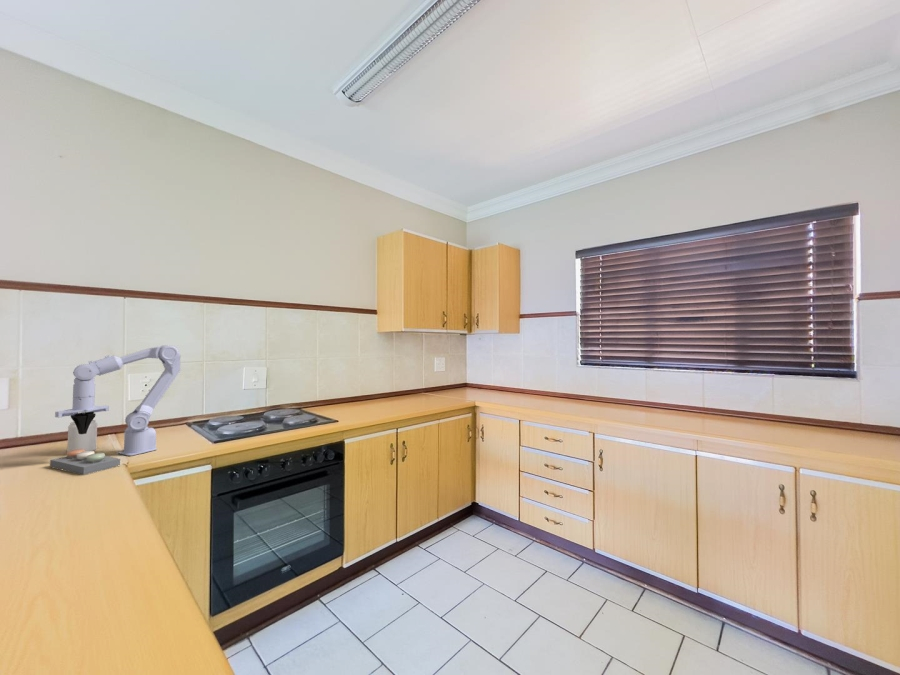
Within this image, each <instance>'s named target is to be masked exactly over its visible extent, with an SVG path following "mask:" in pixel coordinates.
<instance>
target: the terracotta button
mask: <svg viewBox="0 0 900 675" xmlns="http://www.w3.org/2000/svg"><path fill="white" fill-rule="evenodd" d="M80 452H85V449H76V450H71V451H68V452H67V451H66V456H67V457H68V458H69V459H75V458H77V453H80Z"/></svg>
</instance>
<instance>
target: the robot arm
mask: <svg viewBox="0 0 900 675" xmlns="http://www.w3.org/2000/svg"><path fill="white" fill-rule="evenodd" d="M181 356H182V355H181V353H180V351H179V349H178V348H177V347H175V346H174V345H168V344H165V345H161V346H154V347H148V348H146V349H142V350H139V351H135V352H132V353H129V354H126V355H123V356H120V357H119V356H116V355H112V356H111V355H110V354H109V355H106V356H104V358H99V359H97V360H88V363H82V364H79V365H77V366H76V367H75V368H74V370H73V372H72V375H73V376H74V379H73V383H74V384H73V385H72V407H71V409H64V410H57V411H55V414H54V417H55V418H63V417H69V416H70V419H72V422H74V423H75V424H76V427H77V429H78V433H79V434H86V433H87V430H88V427H89V425H90V423H91V421H92V420H95V419H94V418H96V416H97V415H96V413H100V412H101V413H102V412H109V411H110V405H100V406H98V405H97V406H95V398H96V397H95V396H96V384H95V377H96V376H104V375H106V374H110V373H112V372H116V371H119V370H121V369H122V367H123V366H124V365H127V364H130V363H134V362H138V361H142V360H145V359H148V358H149V359H159V361H160V362H161V363H162V366H163V368H164V370H163V372H162V373H161V374H160V376H159V377H158V379H157V380H156V381H155V382H154V384H153V386H152V387H151V388H150V390H149V391H148V393H147V394H146V395H145V397H144V398H143V399H142V401H141V402H140V404H138V405H137V407H135V409H134V410H132V412H130V413H129V414H127V415H126V417H125V419H124V420H125V421H124V422H125V424H126V425H127V427H126V428H124V438H123V440H124V443H123V451H119V452H118V453H120V455H123V456H124V455H125V456H129V457H130V456H131V457H132V456H137V455H141V454H145V453H149V452H153V451H157V450H158V448H157V432H156V430H155V428H154V427H149V426H148V425H149V424H150V418H151V416H152V415H153V413H154V409H156V407H157V405H158V404H159V402H160V401H161V399H162V397H163V396H164V395H165V394H166V392H167V391H168V389H169V388H170V386H171V385H172V384H173V382H174V381H175V379H176V378H177V376H178V375H179V373H180V372H181V370H182V369H181V368H182V367H181ZM118 453H117V454H118Z"/></svg>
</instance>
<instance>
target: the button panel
mask: <svg viewBox="0 0 900 675" xmlns="http://www.w3.org/2000/svg"><path fill="white" fill-rule="evenodd" d="M118 465H120V466H121V458H118V457H113V456H108V455H105V458H104V461H102V462H97V463H93V464H91V463H88V461H87V460H86V461H78V459H77V458H75V459H69V458H68V457H67V455H66V456H62V457H58V458H52V459H50V460H49V467H50V468H52V467H54V468H53V469H56V468H58V469H57V470H60V469H63V470H62V471H64V470H66V471H65V472H69V471H70V473H73V472H74V474H77V475H82V476H85V475H89V473H90V474H94V473H97V471H98V472H102V471H105V469H106V470H109V468H110V469H113V468H112V467H114V468H116V467H115V466H118ZM118 467H119V466H118ZM101 470H102V471H101ZM93 472H94V473H93Z"/></svg>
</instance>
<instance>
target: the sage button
mask: <svg viewBox="0 0 900 675" xmlns="http://www.w3.org/2000/svg"><path fill="white" fill-rule="evenodd" d="M105 456H106V455H105V453H104V452H98V453H94V454H91V455H88V456H87V461H88V463H91V464H93V463H97V462H102V461H104V458H105Z"/></svg>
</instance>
